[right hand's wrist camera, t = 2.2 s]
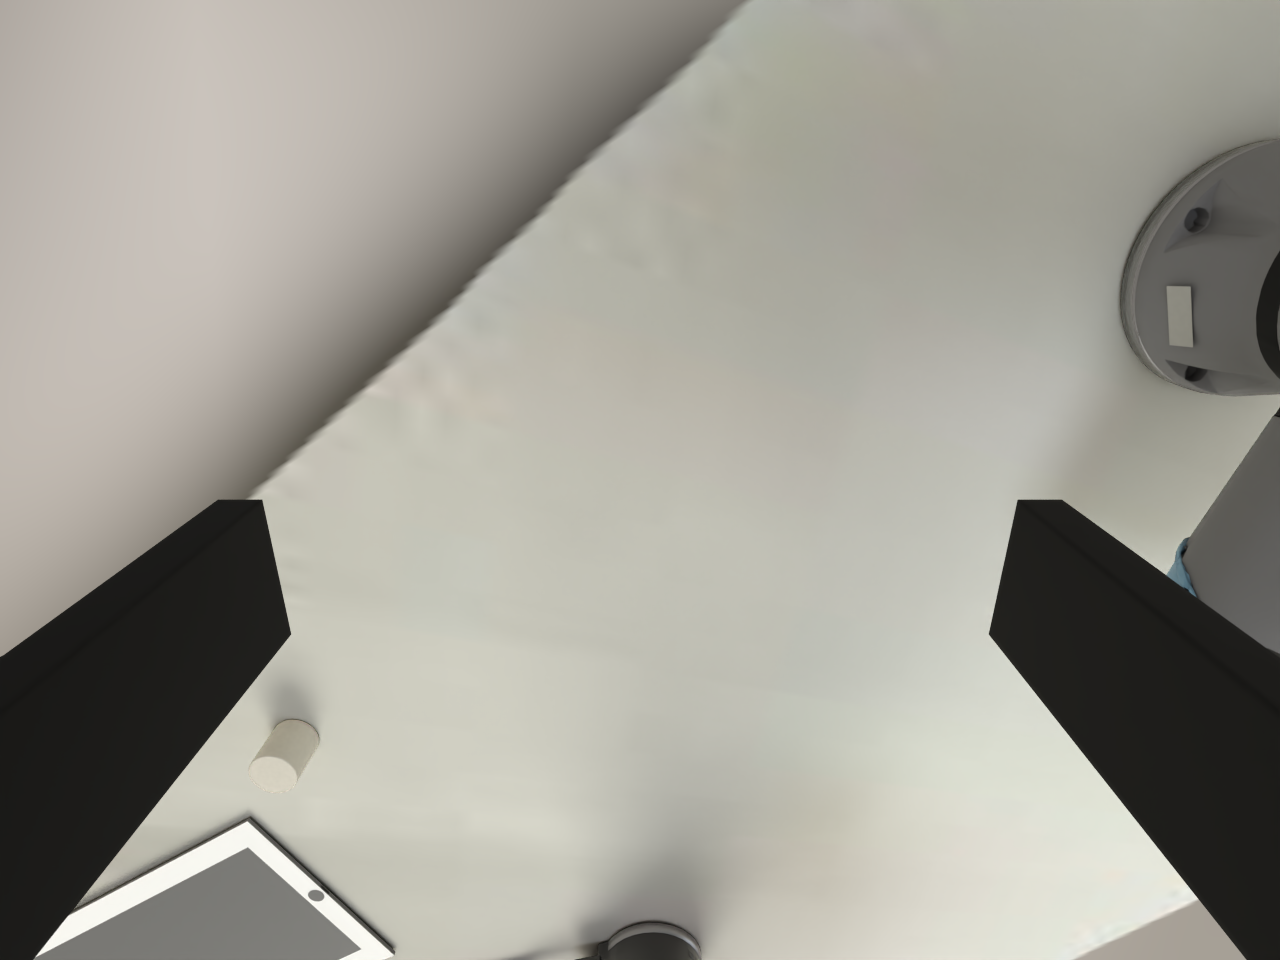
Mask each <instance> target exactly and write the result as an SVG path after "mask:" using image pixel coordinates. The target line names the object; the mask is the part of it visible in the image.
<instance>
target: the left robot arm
mask: <svg viewBox="0 0 1280 960" xmlns="http://www.w3.org/2000/svg"><path fill="white" fill-rule="evenodd" d="M576 960H701V951H700V947H699V945H698V943H697V942H696V940H695V939H694V938H693V937H692V936H691V935H690V934H688V933H687V932H685V931H684V930H682V929H680V928H677V927H675V926H672V925H668V924H662V923H643V924H638V925H634V926H630V927H628V928H625V929H623V930H621V931H620V932H618V933H617V934H616V935H614V936H613V937H612V938H611V939H610V940H609V941H608V942H605V943H601V944H599V945H598V955H596V956H591V957H586V958H581V959H576Z"/></svg>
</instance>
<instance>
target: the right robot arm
mask: <svg viewBox="0 0 1280 960" xmlns="http://www.w3.org/2000/svg"><path fill="white" fill-rule="evenodd" d="M1121 314H1122V321H1123V326H1124V330H1125V333H1126V336H1127V339H1128V341H1129V343H1130V345H1131V347H1132V349H1133V350H1134V352H1135V354H1136V355H1137V357H1138V358H1139V359H1140V360H1141V361H1142V363H1143V364H1144V365H1145V366H1146V367H1147V368H1149V369H1150V370H1151V371H1152V372H1154V373H1155V374H1156V375H1158V376H1159V377H1161V378H1163V379H1165V380H1167V381H1169V382H1171V383H1174V384H1176V385H1179V386H1182V387H1185V388H1187V389H1190V390H1194V391H1197V392H1201V393H1207V394H1215V395H1223V396H1251V395H1270V394H1280V139H1274V140H1267V141H1261V142H1257V143H1253V144H1248V145H1246V146H1243V147H1240V148H1237V149H1234V150H1232V151H1230V152H1227V153H1225V154H1223V155H1221V156H1219V157H1217V158H1215V159H1213V160H1212V161H1210V162H1208V163H1207V164H1205V165H1204V166H1202V167H1200V168H1199V169H1197V170H1196V171H1195V172H1193V173H1192V174H1191V175H1190V176H1188V177H1187V178H1186V179H1184V180H1183V181H1182V182H1181V183H1180V184H1179V185H1178V186H1177V187H1176V188H1174V189H1173V191H1172V192H1171V193H1170V194H1169V195H1168V196H1167V197H1166V198H1165V199H1164V200H1163V201H1162V202H1161V204H1160V205H1159V206H1158V207H1157V208H1156V210H1155V211H1154V212H1153V214H1152V215H1151V217H1150V218H1149V219H1148V221H1147V222H1146V224H1145V226H1144V227H1143V229H1142V231H1141V232H1140V234H1139V236H1138V238H1137V240H1136V242H1135V244H1134V246H1133V249H1132V251H1131V254H1130V256H1129V259H1128V262H1127V265H1126V269H1125V273H1124V277H1123V282H1122V290H1121ZM1276 416H1277V417H1276ZM1279 417H1280V408H1279V410H1278V411H1277V412H1276V414H1275V415H1274V416H1273V417H1272V418H1271V420H1270V421H1269V423H1268V424H1267V426H1266V427H1265V429H1264V430H1263V432H1262V433H1261V434H1260V436H1259V437H1258V439H1257V440H1256V442H1255V443H1254V445H1253V446H1252V448H1251V449H1250V450H1249V452H1248V453H1247V455H1246V456H1245V458H1244V459H1243V461H1242V462H1241V464H1240V465H1239V466H1238V468H1237V469H1236V471H1235V472H1234V474H1233V475H1232V477H1231V478H1230V480H1229V481H1228V483H1227V484H1226V485H1225V487H1224V488H1223V490H1222V491H1221V493H1220V494H1219V496H1218V497H1217V499H1216V500H1215V501H1214V503H1213V504H1212V506H1211V507H1210V509H1209V510H1208V512H1207V513H1206V515H1205V516H1204V517H1203V519H1202V520H1201V522H1200V523H1199V525H1198V526H1197V528H1196V529H1195V531H1194V532H1193V533H1192V535H1191V536H1190V537H1189V538H1185V539H1184V540H1183V541H1182V543H1181V544H1180V545H1179V547H1178V549H1177V551H1176V557H1175V562H1174V564H1173V565H1172V567H1171V569H1170V570H1169V572H1168V574H1167V575H1165V574H1164V573H1162V572H1161V571H1159V570H1158V569H1157V568H1155V567H1154V566H1153V565H1151V564H1150V563H1148V562H1147V561H1146V560H1144V559H1143V558H1142V557H1140V556H1139V555H1137V554H1136V553H1135V552H1133V551H1132V550H1130V549H1129V548H1128V547H1126V546H1125V545H1124V544H1122V543H1121V542H1119V541H1118V540H1117V539H1115V538H1114V537H1113V536H1111V535H1110V534H1108V533H1107V532H1106V531H1104V530H1103V529H1102V528H1100V527H1099V526H1097V525H1096V524H1095V523H1093V522H1092V521H1091V520H1089V519H1088V518H1086V517H1085V516H1084V515H1082V514H1081V513H1079V512H1078V511H1077V510H1075V509H1074V508H1073V507H1071V506H1070V505H1068V504H1067V503H1066V502H1064V501H1063V500H1018V501H1017V506H1016V511H1015V515H1014V520H1013V524H1012V529H1011V534H1010V538H1009V543H1008V548H1007V552H1006V557H1005V562H1004V566H1003V571H1002V576H1001V580H1000V585H999V589H998V594H997V599H996V603H995V608H994V613H993V617H992V622H991V627H990V631H989V635H990V636H991V638H992V639H993V640H994V641H995V643H996V644H997V645H998V646H999V648H1000V649H1001V650H1002V651H1003V653H1004V654H1005V655H1006V657H1007V658H1008V659H1009V660H1010V662H1011V663H1012V664H1013V665H1014V667H1015V668H1016V669H1017V670H1018V672H1019V673H1020V674H1021V675H1022V677H1023V678H1024V679H1025V681H1026V682H1027V683H1028V684H1029V686H1030V687H1031V688H1032V689H1033V691H1034V692H1035V693H1036V694H1037V696H1038V697H1039V698H1040V699H1041V701H1042V702H1043V703H1044V704H1045V706H1046V707H1047V708H1048V710H1049V711H1050V712H1051V713H1052V715H1053V716H1054V717H1055V718H1056V720H1057V721H1058V722H1059V723H1060V725H1061V726H1062V727H1063V728H1064V730H1065V731H1066V732H1067V734H1068V735H1069V736H1070V737H1071V739H1072V740H1073V741H1074V742H1075V744H1076V745H1077V746H1078V747H1079V749H1080V750H1081V751H1082V752H1083V754H1084V755H1085V756H1086V758H1087V759H1088V760H1089V761H1090V763H1091V764H1092V765H1093V766H1094V768H1095V769H1096V770H1097V771H1098V773H1099V774H1100V775H1101V776H1102V778H1103V779H1104V780H1105V782H1106V783H1107V784H1108V785H1109V787H1110V788H1111V789H1112V790H1113V792H1114V793H1115V794H1116V795H1117V797H1118V798H1119V799H1120V800H1121V802H1122V803H1123V804H1124V806H1125V807H1126V808H1127V809H1128V811H1129V812H1130V813H1131V814H1132V816H1133V817H1134V818H1135V819H1136V821H1137V822H1138V823H1139V824H1140V826H1141V827H1142V828H1143V829H1144V831H1145V832H1146V833H1147V835H1148V836H1149V837H1150V838H1151V840H1152V841H1153V842H1154V843H1155V845H1156V846H1157V847H1158V848H1159V850H1160V851H1161V852H1162V853H1163V855H1164V856H1165V857H1166V859H1167V860H1168V861H1169V862H1170V864H1171V865H1172V866H1173V867H1174V869H1175V870H1176V871H1177V872H1178V874H1179V875H1180V876H1181V877H1182V879H1183V880H1184V881H1185V883H1186V884H1187V885H1188V886H1189V888H1190V889H1191V890H1192V891H1193V893H1194V894H1195V895H1196V896H1197V898H1198V899H1199V900H1200V901H1201V903H1202V904H1203V905H1204V906H1205V908H1206V909H1207V910H1208V912H1209V913H1210V914H1211V915H1212V917H1213V918H1214V919H1215V920H1216V922H1217V923H1218V924H1219V925H1220V927H1221V928H1222V929H1223V931H1224V932H1225V933H1226V934H1227V936H1228V937H1229V938H1230V939H1231V941H1232V942H1233V943H1234V944H1235V946H1236V947H1237V948H1238V949H1239V951H1240V952H1241V953H1242V954H1243V956H1244V957H1245V958H1246V959H1247V960H1280V418H1279ZM290 635H291V631H290V627H289V622H288V617H287V613H286V608H285V603H284V599H283V594H282V589H281V585H280V580H279V576H278V571H277V566H276V562H275V557H274V552H273V548H272V543H271V538H270V534H269V529H268V524H267V520H266V515H265V511H264V506H263V501H262V500H217V501H216V502H214V503H213V504H212V505H210V506H209V507H207V508H206V509H205V510H203V511H202V512H201V513H199V514H198V515H196V516H195V517H194V518H192V519H191V520H190V521H188V522H187V523H185V524H184V525H183V526H181V527H180V528H178V529H177V530H176V531H174V532H173V533H172V534H170V535H169V536H167V537H166V538H165V539H163V540H162V541H161V542H159V543H158V544H156V545H155V546H154V547H152V548H151V549H150V550H148V551H147V552H145V553H144V554H143V555H141V556H140V557H138V558H137V559H136V560H134V561H133V562H132V563H130V564H129V565H127V566H126V567H125V568H123V569H122V570H121V571H119V572H118V573H116V574H115V575H114V576H112V577H111V578H110V579H108V580H107V581H105V582H104V583H103V584H101V585H100V586H98V587H97V588H96V589H94V590H93V591H92V592H90V593H89V594H87V595H86V596H85V597H83V598H82V599H81V600H79V601H78V602H76V603H75V604H74V605H72V606H71V607H70V608H68V609H67V610H65V611H64V612H63V613H61V614H60V615H59V616H57V617H56V618H54V619H53V620H52V621H50V622H49V623H48V624H46V625H45V626H43V627H42V628H41V629H39V630H38V631H36V632H35V633H34V634H32V635H31V636H30V637H28V638H27V639H25V640H24V641H23V642H21V643H20V644H19V645H17V646H16V647H14V648H13V649H12V650H10V651H9V652H8V653H6V654H5V655H3V656H1V657H0V960H34V958H35V957H36V956H37V954H38V953H39V952H40V951H41V949H42V948H43V947H44V946H45V944H46V943H47V942H48V941H49V939H50V938H51V937H52V936H53V934H54V933H55V932H56V931H57V929H58V928H59V927H60V925H61V924H62V923H63V922H64V920H65V919H66V918H67V917H68V915H69V914H70V913H71V912H72V910H73V909H74V908H75V907H76V905H77V904H78V903H79V901H80V900H81V899H82V898H83V896H84V895H85V894H86V893H87V891H88V890H89V889H90V888H91V886H92V885H93V884H94V883H95V881H96V880H97V879H98V877H99V876H100V875H101V874H102V872H103V871H104V870H105V869H106V867H107V866H108V865H109V864H110V862H111V861H112V860H113V859H114V857H115V856H116V855H117V853H118V852H119V851H120V850H121V848H122V847H123V846H124V845H125V843H126V842H127V841H128V840H129V838H130V837H131V836H132V835H133V833H134V832H135V831H136V829H137V828H138V827H139V826H140V824H141V823H142V822H143V821H144V819H145V818H146V817H147V816H148V814H149V813H150V812H151V811H152V809H153V808H154V807H155V806H156V804H157V803H158V802H159V800H160V799H161V798H162V797H163V795H164V794H165V793H166V792H167V790H168V789H169V788H170V787H171V785H172V784H173V783H174V782H175V780H176V779H177V778H178V776H179V775H180V774H181V773H182V771H183V770H184V769H185V768H186V766H187V765H188V764H189V763H190V761H191V760H192V759H193V758H194V756H195V755H196V754H197V752H198V751H199V750H200V749H201V747H202V746H203V745H204V744H205V742H206V741H207V740H208V739H209V737H210V736H211V735H212V734H213V732H214V731H215V730H216V728H217V727H218V726H219V725H220V723H221V722H222V721H223V720H224V718H225V717H226V716H227V715H228V713H229V712H230V711H231V710H232V708H233V707H234V706H235V704H236V703H237V702H238V701H239V699H240V698H241V697H242V696H243V694H244V693H245V692H246V691H247V689H248V688H249V687H250V686H251V684H252V683H253V682H254V681H255V679H256V678H257V677H258V675H259V674H260V673H261V672H262V670H263V669H264V668H265V667H266V665H267V664H268V663H269V662H270V660H271V659H272V658H273V657H274V655H275V654H276V653H277V651H278V650H279V649H280V648H281V646H282V645H283V644H284V643H285V641H286V640H287V639H288V638H289V636H290Z"/></svg>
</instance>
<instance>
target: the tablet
mask: <svg viewBox="0 0 1280 960" xmlns="http://www.w3.org/2000/svg"><path fill="white" fill-rule="evenodd" d="M394 954H395V951H394V950H393V949H392V948H391V947H390V946H389V945H388V944H386V943H385V942H384V941H383V940H382V939H381V938H380V937H379V936H378V935H377V934H376V933H374V932H373V931H372V930H371V929H370V928H369V927H368V926H367V925H366V924H365V923H364V922H362V921H361V920H360V919H359V918H358V917H357V916H356V915H355V914H354V913H353V912H352V911H350V910H349V909H348V908H347V907H346V906H345V905H344V904H343V903H342V902H341V901H340V900H338V899H337V898H336V897H335V896H334V895H333V894H332V893H331V892H330V891H329V890H328V889H326V888H325V887H324V886H323V885H322V884H321V883H320V882H319V881H318V880H317V879H316V878H315V877H313V876H312V875H311V874H310V873H309V872H308V871H307V870H306V869H305V868H304V867H303V866H301V865H300V864H299V863H298V862H297V861H296V860H295V859H294V858H293V857H292V856H291V855H289V854H288V853H287V852H286V851H285V850H284V849H283V848H282V847H281V846H280V845H279V844H277V843H276V842H275V841H274V840H273V839H272V838H271V837H270V836H269V835H268V834H267V833H265V832H264V831H263V830H262V829H261V828H260V827H259V826H258V825H257V824H256V823H255V822H253V821H252V820H251V819H250V818H248V819H246V820H244V821H243V822H241V823H239V824H237V825H235V826H233V827H231V828H229V829H227V830H226V831H224V832H222V833H220V834H218V835H216V836H214V837H212V838H210V839H209V840H207V841H205V842H203V843H201V844H199V845H197V846H195V847H193V848H192V849H190V850H188V851H186V852H184V853H182V854H180V855H178V856H176V857H175V858H173V859H171V860H169V861H167V862H165V863H163V864H161V865H159V866H157V867H156V868H154V869H152V870H150V871H148V872H146V873H144V874H142V875H140V876H139V877H137V878H135V879H133V880H131V881H129V882H127V883H125V884H123V885H122V886H120V887H118V888H116V889H114V890H112V891H110V892H108V893H106V894H105V895H103V896H101V897H99V898H97V899H95V900H93V901H91V902H89V903H88V904H86V905H84V906H82V907H80V908H78V909H76V910H74V911H72V912H71V913H70V914H69V915H68V917H67V918H66V919H65V920H64V922H63V923H62V924H61V925H60V927H59V928H58V929H57V931H56V932H55V933H54V934H53V936H52V937H51V938H50V939H49V941H48V942H47V943H46V944H45V946H44V947H43V948H42V949H41V951H40V952H39V953H38V954H37V956H36V957H35V958H34V960H385V959H387V958H389V957H391V956H394Z"/></svg>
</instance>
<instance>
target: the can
mask: <svg viewBox="0 0 1280 960" xmlns="http://www.w3.org/2000/svg"><path fill="white" fill-rule="evenodd" d="M318 744H319V737H318V734H317V732H316V731H315V729H314V728H313V727H312V726H310V725H309V724H307V723H305V722H303V721H300V720H286V721H283V722H281V723H279V724H278V725H277V726H276V727H275V729H274V730H273V732H272V733H271V735H270V736H269V737H268V739H267V740H266V742H265V743H264V745H263V746H262V748H261V749H260V751H259V752H258V754H257V755H256V757H255V758H254V759H253V761H252V762H251V764H250V766H249V776H250V779H251V780H252V782H253V783H254V784H255V785H256V786H257V787H259V788H260V789H262V790H264V791H267V792H271V793H283V792H286V791H289V790H290V789H292V788H293V787H294V786H295V785H296V783H297V781H298V780H299V778H300V776H301V774H302V773H303V771H304V769H305V768H306V766H307V764H308V762H309V761H310V759H311V757H312V756H313V754H314V752H315V750H316V749H317V747H318Z"/></svg>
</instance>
